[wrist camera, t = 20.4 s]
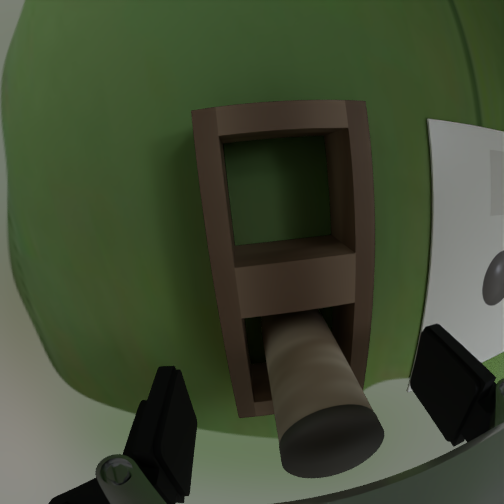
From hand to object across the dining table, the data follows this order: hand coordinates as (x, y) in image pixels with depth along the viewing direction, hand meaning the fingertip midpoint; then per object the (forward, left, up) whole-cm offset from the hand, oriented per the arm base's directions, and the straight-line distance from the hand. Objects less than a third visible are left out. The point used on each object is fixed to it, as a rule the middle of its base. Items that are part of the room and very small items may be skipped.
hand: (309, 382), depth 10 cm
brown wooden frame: (0, -3, -5) cm, 6 cm away
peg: (0, 0, -5) cm, 5 cm away
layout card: (-15, -1, -5) cm, 15 cm away
